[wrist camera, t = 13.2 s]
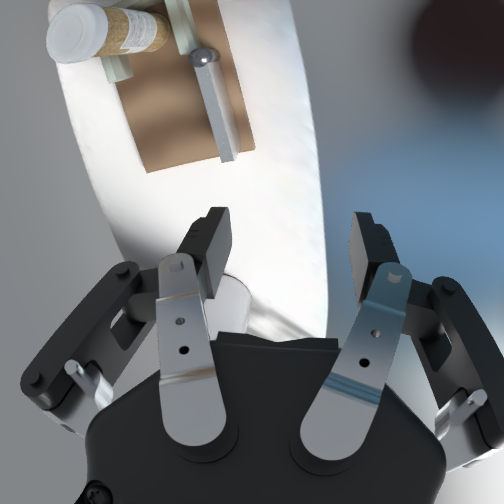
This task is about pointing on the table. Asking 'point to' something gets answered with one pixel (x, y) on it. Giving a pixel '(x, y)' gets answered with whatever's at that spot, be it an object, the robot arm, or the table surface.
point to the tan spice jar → (103, 32)
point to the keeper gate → (216, 101)
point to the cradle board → (175, 86)
